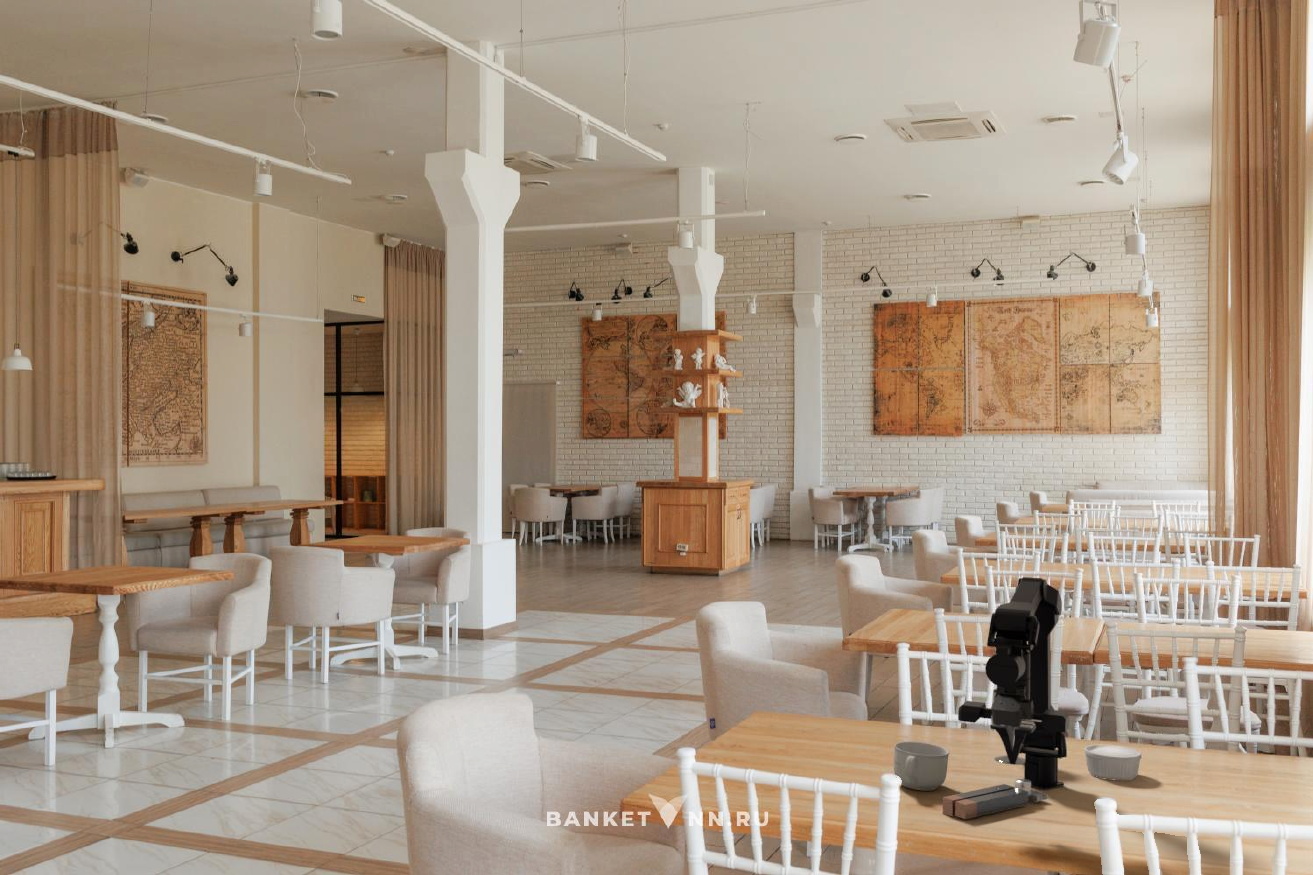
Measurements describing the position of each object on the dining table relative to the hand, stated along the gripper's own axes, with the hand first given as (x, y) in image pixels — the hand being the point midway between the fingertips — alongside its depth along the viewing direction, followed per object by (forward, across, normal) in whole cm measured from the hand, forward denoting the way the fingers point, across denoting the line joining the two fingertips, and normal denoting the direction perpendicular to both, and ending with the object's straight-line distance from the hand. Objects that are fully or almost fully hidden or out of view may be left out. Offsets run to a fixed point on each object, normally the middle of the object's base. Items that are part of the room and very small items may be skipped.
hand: (1012, 763), depth 208 cm
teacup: (+11, -21, +14) cm, 28 cm away
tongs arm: (+10, -5, +5) cm, 13 cm away
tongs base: (+11, -5, +9) cm, 15 cm away
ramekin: (+11, +13, +44) cm, 47 cm away
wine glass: (+11, -8, +46) cm, 48 cm away
